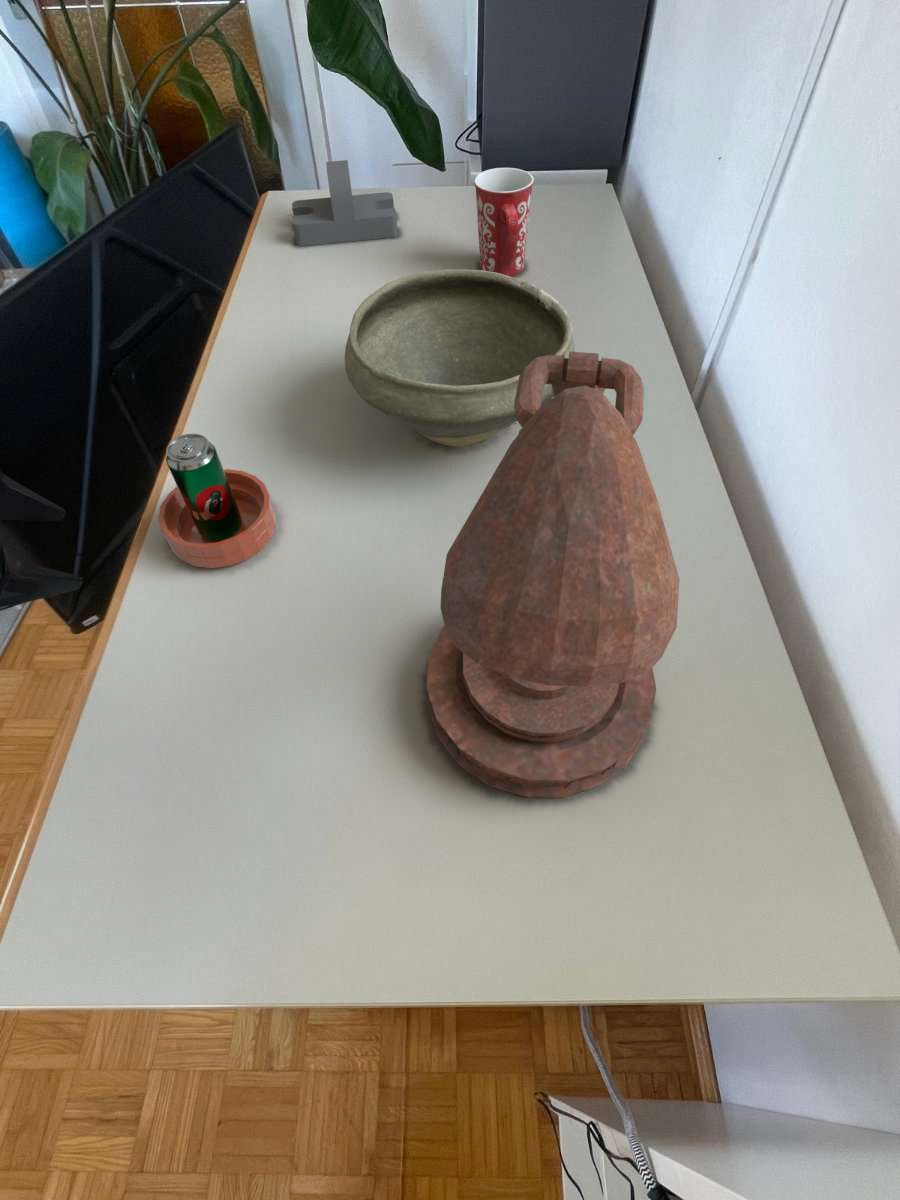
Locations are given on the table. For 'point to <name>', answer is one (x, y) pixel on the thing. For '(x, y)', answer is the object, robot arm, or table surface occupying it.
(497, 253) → the mug
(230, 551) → the dish
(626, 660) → the rusty bell weight
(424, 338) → the bowl
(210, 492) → the soda can
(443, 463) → the table surface
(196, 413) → the table surface
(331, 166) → the bracket
